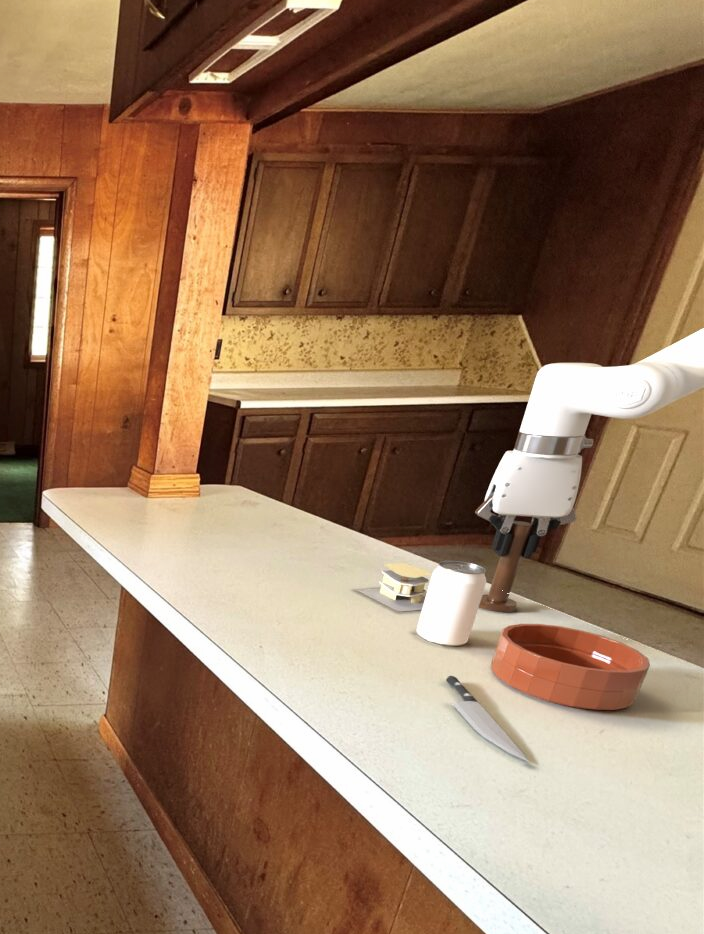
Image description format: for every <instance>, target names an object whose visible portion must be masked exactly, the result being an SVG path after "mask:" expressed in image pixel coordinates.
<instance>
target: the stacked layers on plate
mask: <svg viewBox="0 0 704 934" xmlns="http://www.w3.org/2000/svg"><path fill="white" fill-rule="evenodd" d="M383 565H384V566H385V567H386V568H388V570H381V573H382V574H383V577H382V580H379V584H380V587H379V588H378V587H377V588H376V587H375V588H364V589H356V591H357V592H359V593H361V594H363V595H365V596H367V597H368V598H371V599H373V600H374V601H376V602H379V603H380V604H383V605H385V606H386V607H388V608H389V609H390V608H391V609H393V610H394V611H396V612H399V613H400V612H411V611H422V608H423V605H424V601H425V598H426V597H424V596H423V595H426V593H427V591H426V589H425V586H426V584H428V583H430V580H429V579H428V578H427V577H426V576H430V575H432V574H431V572H430V571H428V570H427V569H422V568H421V567H418V566H414V565H411V564H408V563H405V562H395V563H384V564H383Z"/></svg>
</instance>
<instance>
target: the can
mask: <svg viewBox="0 0 704 934" xmlns="http://www.w3.org/2000/svg"><path fill="white" fill-rule="evenodd" d="M486 572H487V570H486V568H485V567H483V566H481V565H479V564H475V563H471V562H467V561H460V560H441V561H439V562H438V566H437V567H436V568H435V569H434V570H433V572H432V574H431V576H430V580H429V584H428V588H427V591H426V593H425V597H424V598H425V601H424V605H423V608H422V610H421V612H420V615H419V620H418V623H417V627H416V633H417V635H418V636H419V637H420V638H421V639H423V640H425V641H427V642H430V643H433V644H437V645H440V646H447V647H457V646H458V647H460V646H463V645H465V644H466V643H468V641H469V638H470V636H471V632H472V629H473V626H474V623H475V620H476V617H477V614H478V610H479V607H480V606H479V604H480V601H481V598H482V595H483V594H484V592H485V588H486V585H487V576H486V574H485V573H486Z"/></svg>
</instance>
